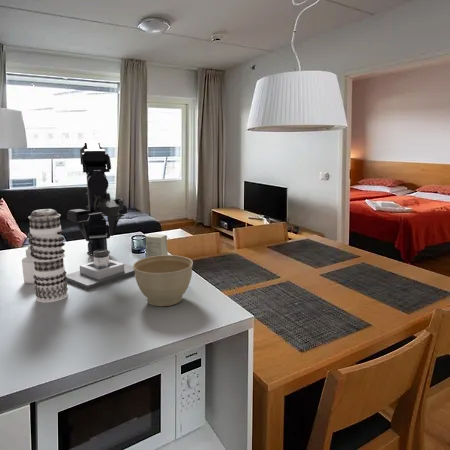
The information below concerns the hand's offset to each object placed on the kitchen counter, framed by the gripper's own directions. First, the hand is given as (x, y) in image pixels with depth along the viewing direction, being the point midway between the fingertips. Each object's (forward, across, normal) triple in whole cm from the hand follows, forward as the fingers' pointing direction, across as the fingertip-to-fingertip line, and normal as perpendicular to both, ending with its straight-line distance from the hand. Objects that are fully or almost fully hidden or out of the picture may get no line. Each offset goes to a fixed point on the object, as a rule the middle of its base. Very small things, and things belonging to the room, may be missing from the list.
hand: (100, 238), depth 122 cm
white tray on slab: (+13, 0, 0) cm, 13 cm away
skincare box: (+13, +16, -9) cm, 23 cm away
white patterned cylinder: (+13, -19, -3) cm, 23 cm away
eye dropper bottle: (+13, -17, +12) cm, 25 cm away
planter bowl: (+13, -1, -30) cm, 33 cm away
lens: (+11, 0, 0) cm, 11 cm away
